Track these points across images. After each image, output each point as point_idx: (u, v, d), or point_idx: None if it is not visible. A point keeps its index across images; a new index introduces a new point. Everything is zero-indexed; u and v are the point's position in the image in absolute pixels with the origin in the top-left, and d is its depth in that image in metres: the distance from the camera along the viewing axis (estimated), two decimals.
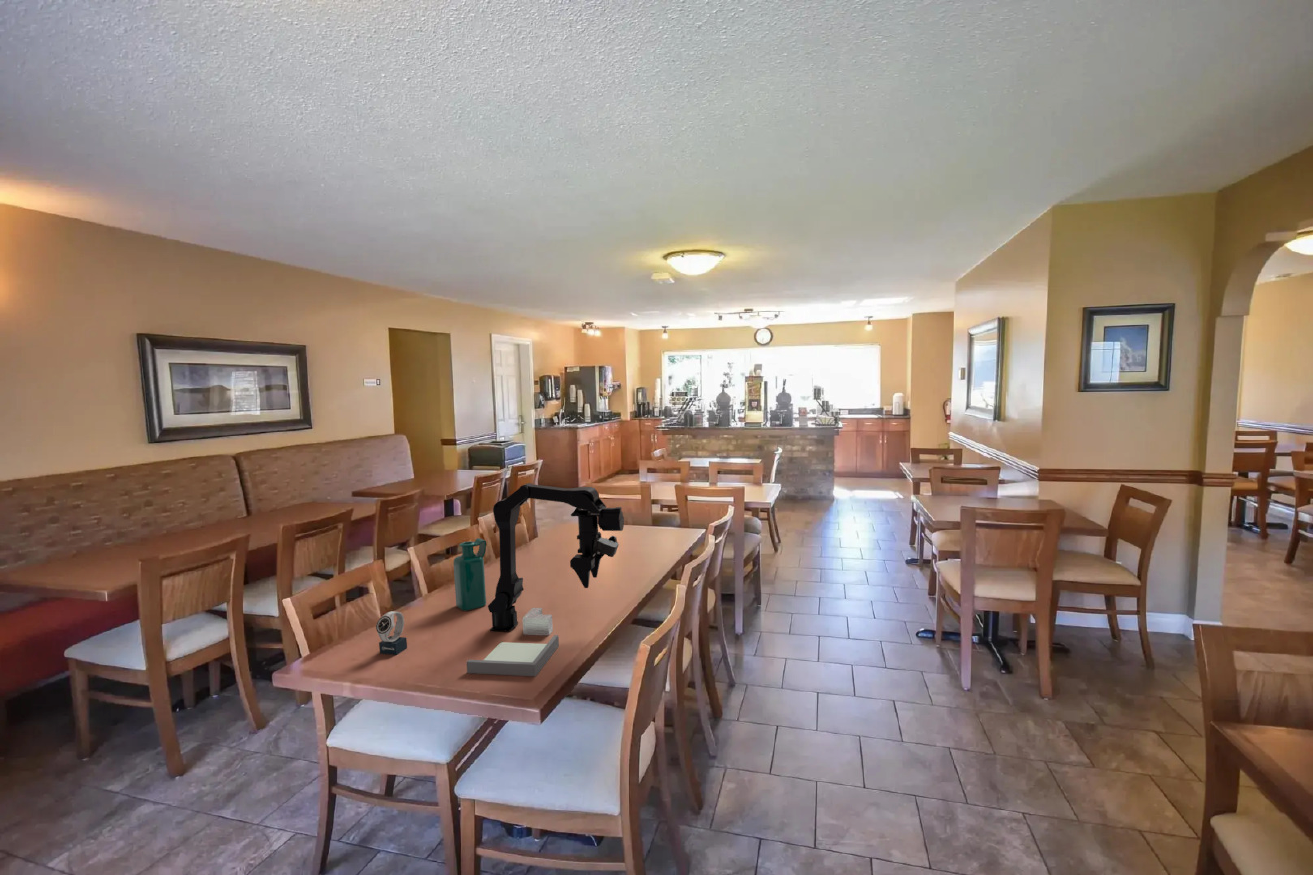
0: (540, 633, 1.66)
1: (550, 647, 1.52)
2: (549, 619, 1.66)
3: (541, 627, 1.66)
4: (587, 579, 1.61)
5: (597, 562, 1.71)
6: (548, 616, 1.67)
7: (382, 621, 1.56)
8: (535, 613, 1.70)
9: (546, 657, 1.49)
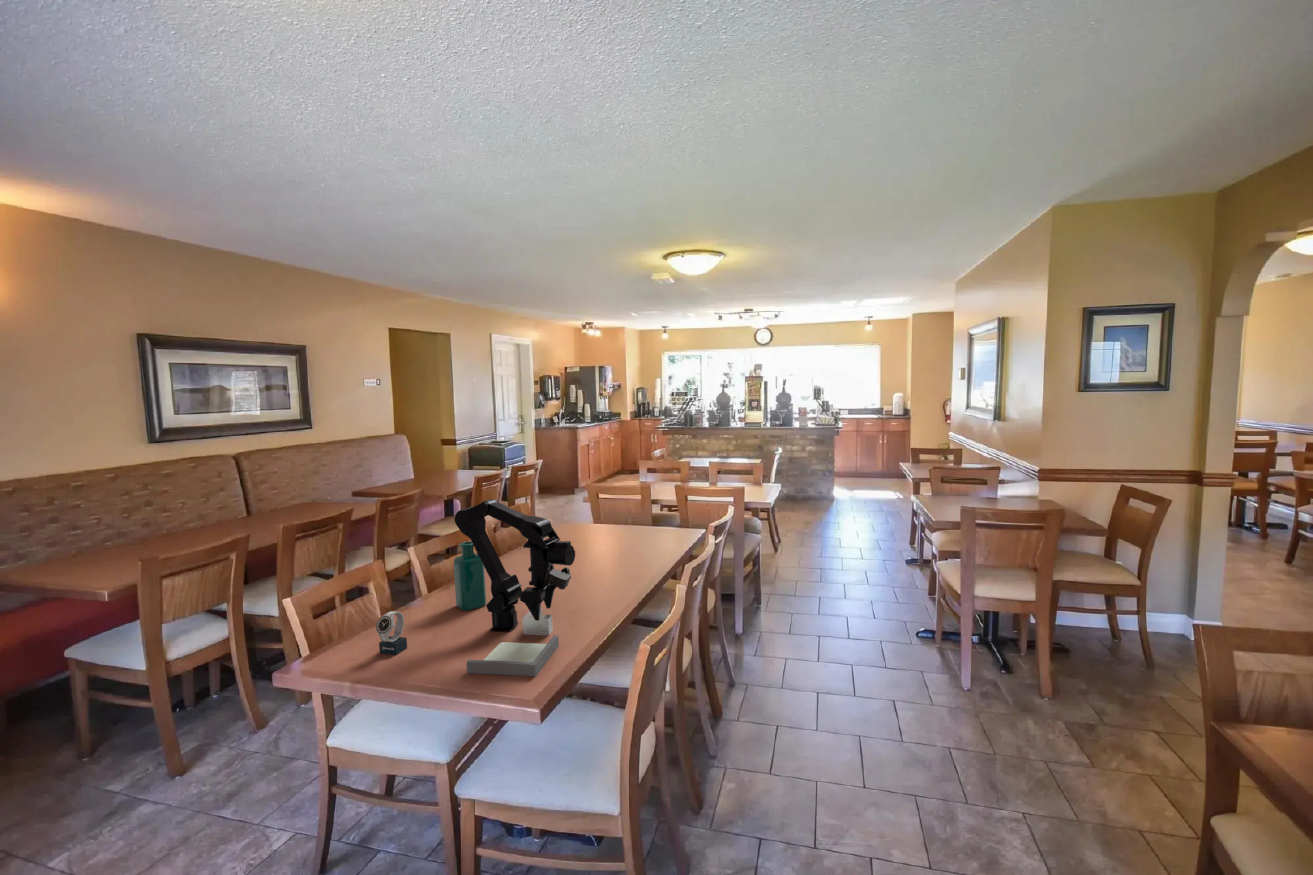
0: (540, 633, 1.66)
1: (550, 647, 1.52)
2: (549, 619, 1.66)
3: (541, 627, 1.66)
4: (538, 612, 1.61)
5: (550, 593, 1.71)
6: (548, 616, 1.67)
7: (382, 621, 1.56)
8: None
9: (546, 657, 1.49)
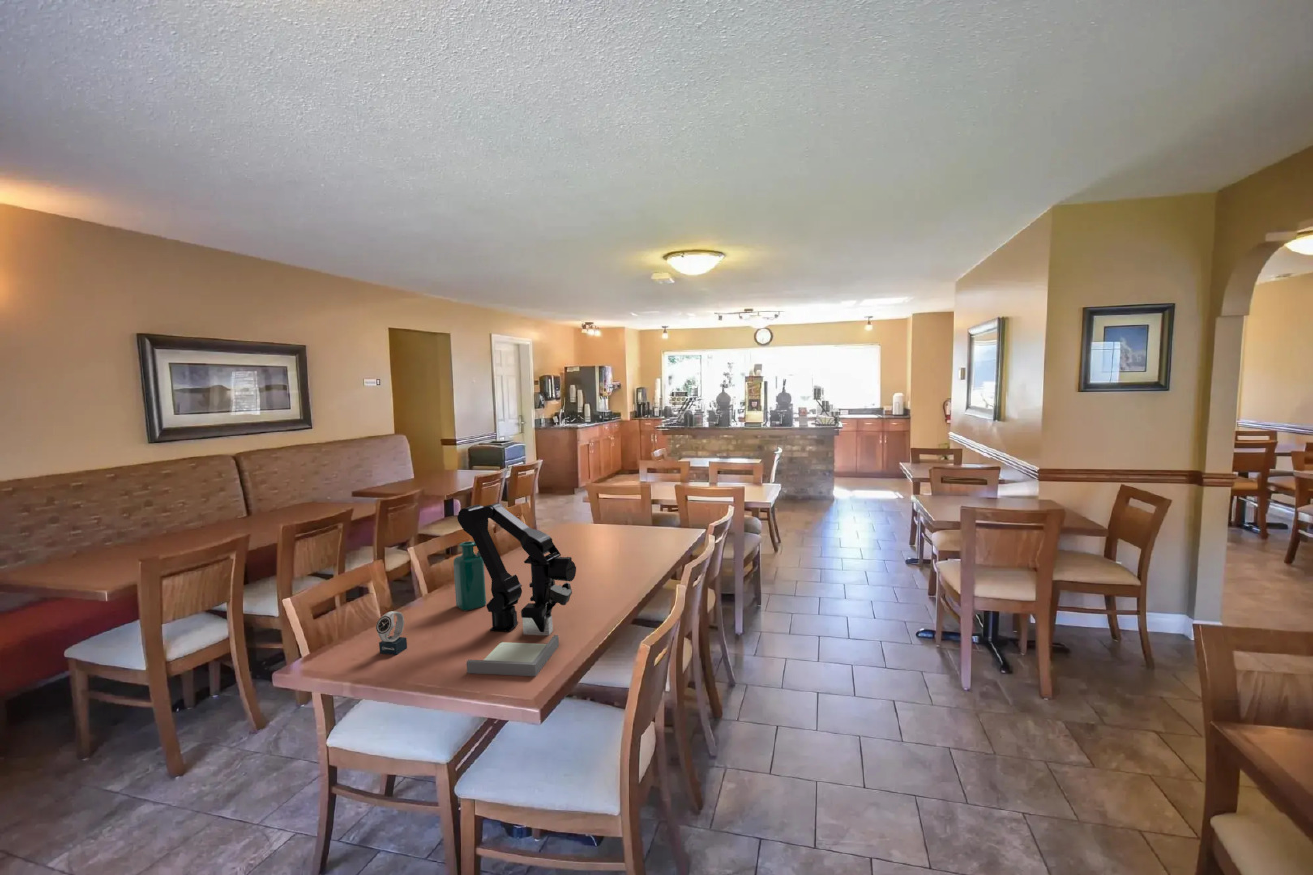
0: (540, 633, 1.66)
1: (550, 647, 1.52)
2: (549, 619, 1.66)
3: None
4: (542, 624, 1.64)
5: (548, 612, 1.69)
6: (548, 616, 1.67)
7: (382, 621, 1.56)
8: None
9: (546, 657, 1.49)
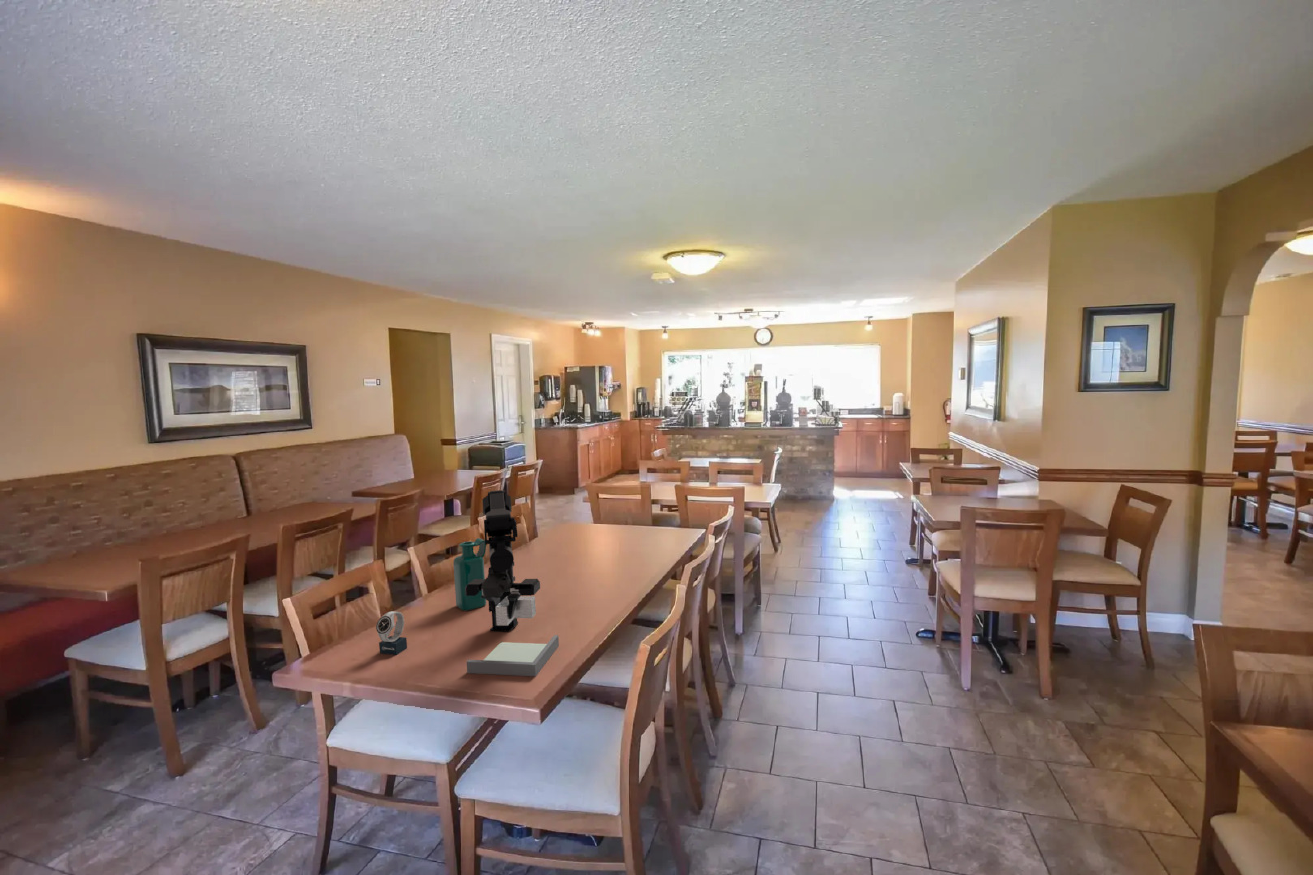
0: None
1: (550, 647, 1.52)
2: (499, 609, 1.48)
3: None
4: None
5: None
6: (502, 606, 1.48)
7: (382, 621, 1.56)
8: None
9: (546, 657, 1.49)
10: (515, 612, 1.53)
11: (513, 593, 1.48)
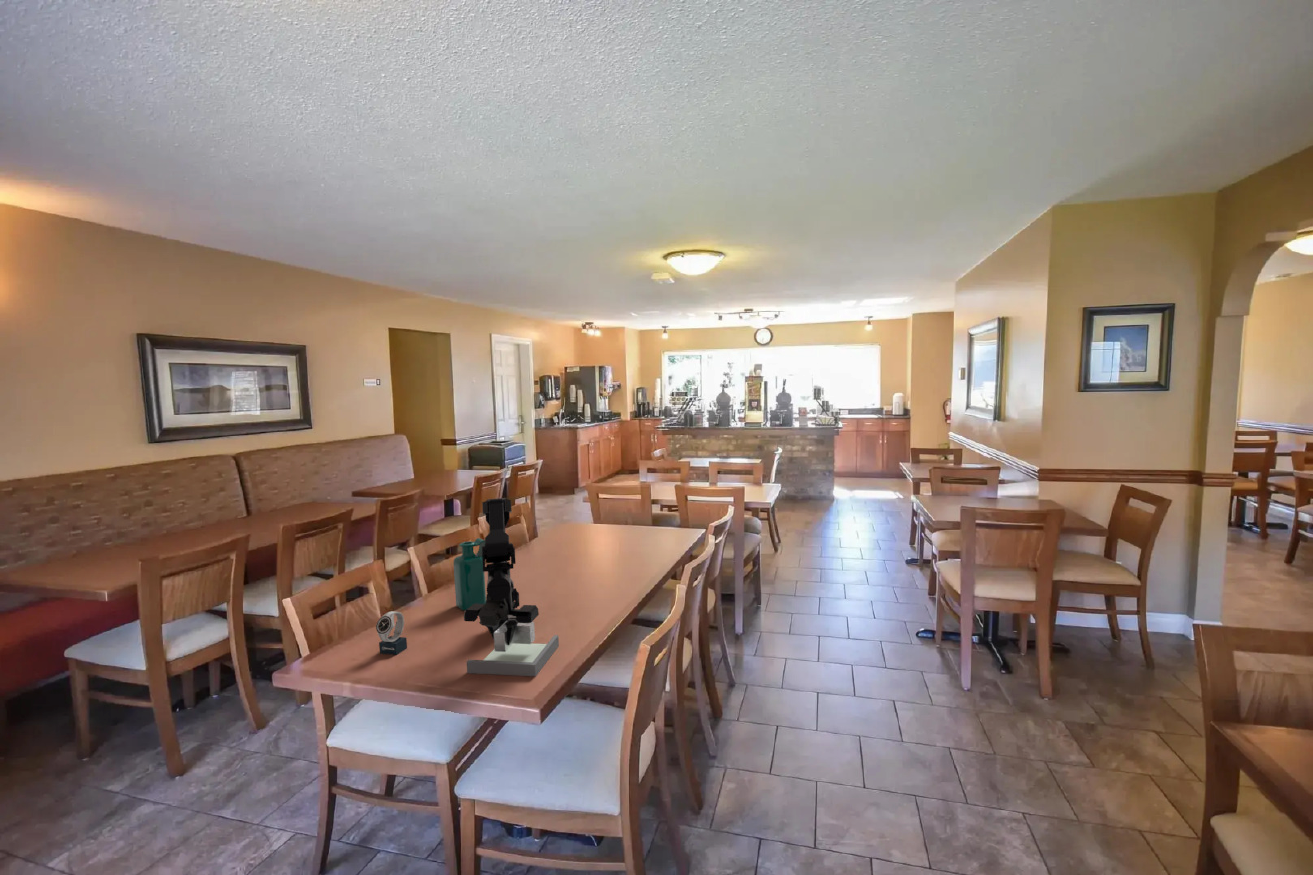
0: None
1: (550, 647, 1.52)
2: (497, 635, 1.48)
3: None
4: None
5: None
6: (500, 632, 1.48)
7: (382, 621, 1.56)
8: None
9: (546, 657, 1.49)
10: (514, 637, 1.53)
11: (511, 620, 1.47)
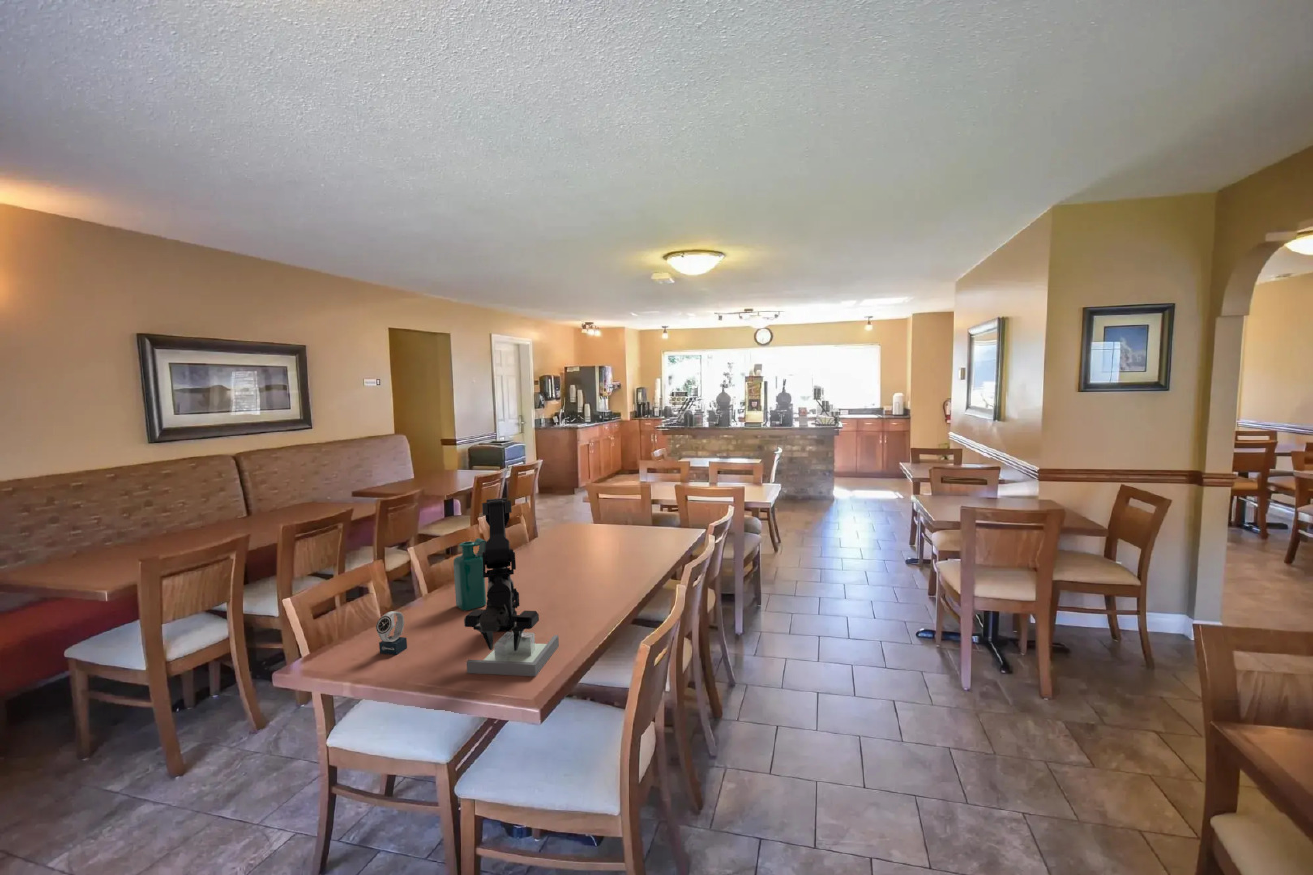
0: None
1: (550, 647, 1.52)
2: (497, 646, 1.48)
3: None
4: None
5: None
6: (501, 643, 1.48)
7: (382, 621, 1.56)
8: None
9: (546, 657, 1.49)
10: None
11: None
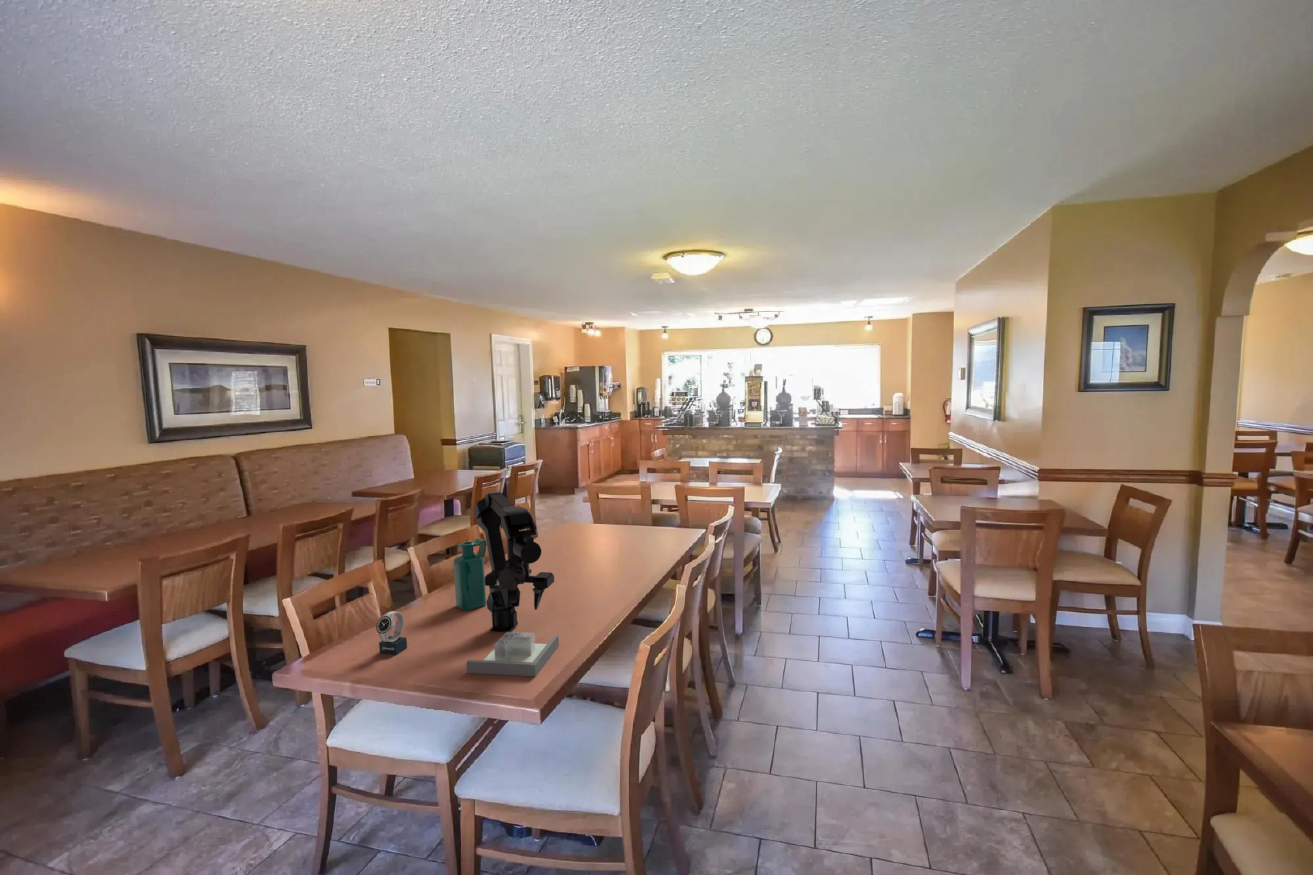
0: None
1: (550, 647, 1.52)
2: (497, 646, 1.48)
3: None
4: None
5: None
6: (501, 643, 1.48)
7: (382, 621, 1.56)
8: (515, 636, 1.53)
9: (546, 657, 1.49)
10: (514, 649, 1.53)
11: None
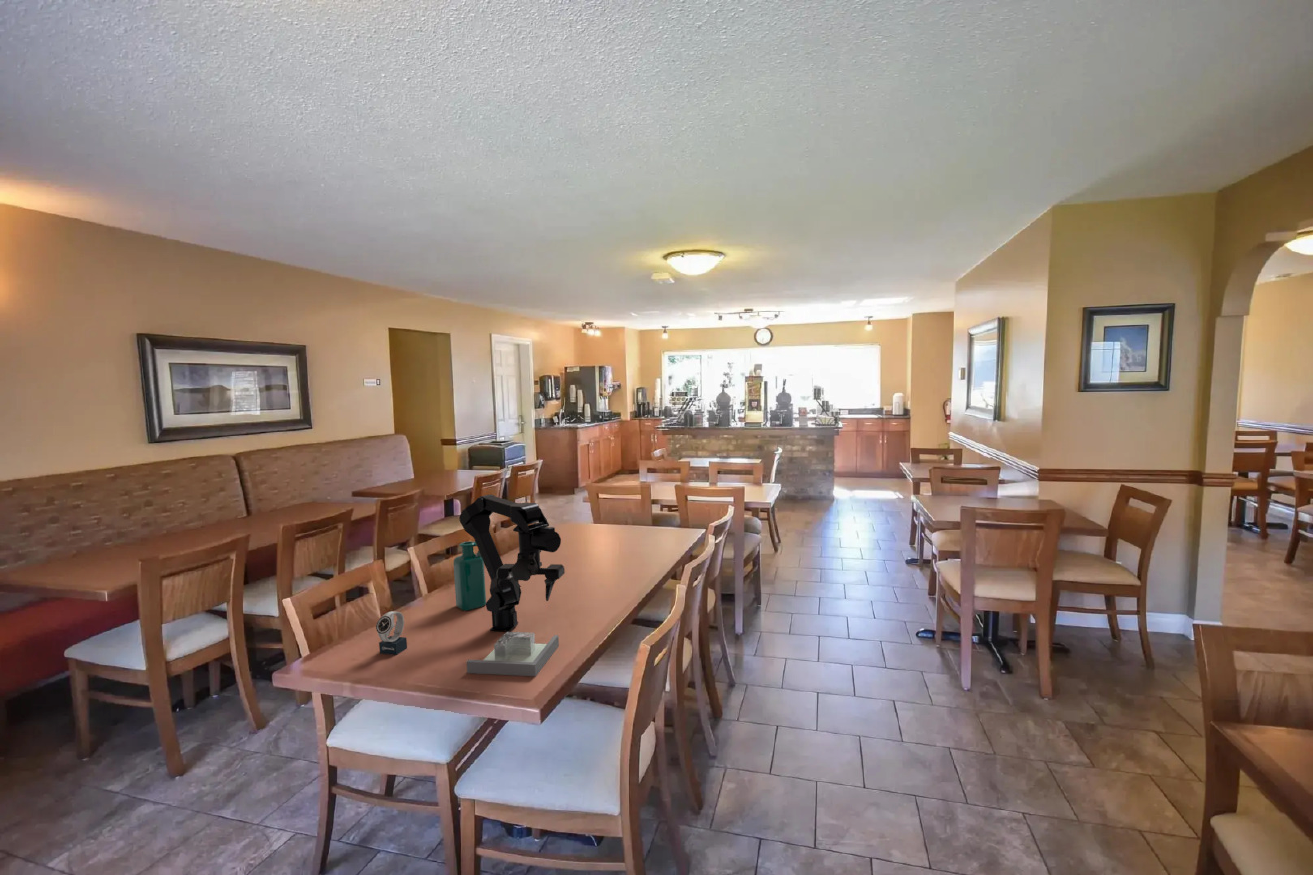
0: None
1: (550, 647, 1.52)
2: (497, 646, 1.48)
3: None
4: None
5: None
6: (501, 643, 1.48)
7: (382, 621, 1.56)
8: (515, 636, 1.53)
9: (546, 657, 1.49)
10: (514, 649, 1.53)
11: None
